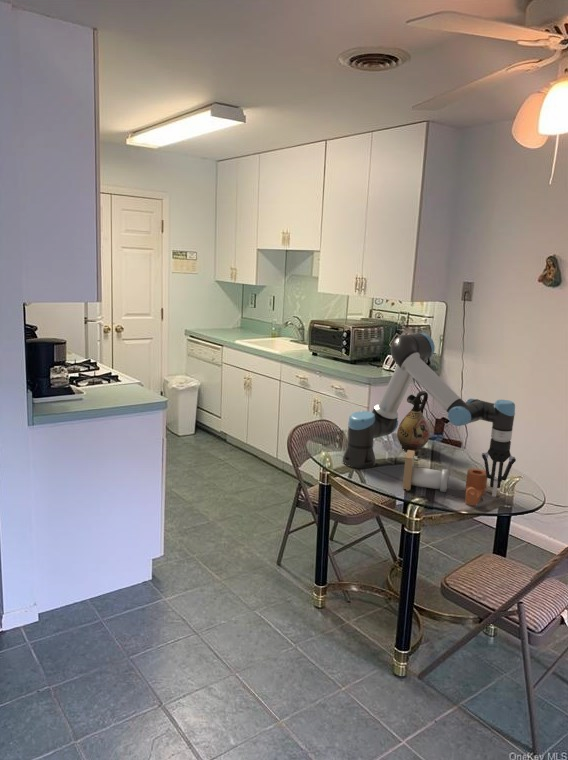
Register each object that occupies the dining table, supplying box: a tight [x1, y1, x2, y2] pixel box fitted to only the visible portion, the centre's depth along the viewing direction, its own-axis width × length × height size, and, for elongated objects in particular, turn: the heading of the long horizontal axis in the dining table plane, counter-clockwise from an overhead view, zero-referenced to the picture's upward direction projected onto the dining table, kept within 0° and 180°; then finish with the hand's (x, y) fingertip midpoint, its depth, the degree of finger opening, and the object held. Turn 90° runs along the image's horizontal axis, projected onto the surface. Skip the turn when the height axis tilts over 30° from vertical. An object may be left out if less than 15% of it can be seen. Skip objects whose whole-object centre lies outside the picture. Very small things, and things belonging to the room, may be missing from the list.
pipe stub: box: [402, 450, 449, 493], centre depth 238 cm, size 17×10×14 cm, turn 73°
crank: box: [464, 468, 488, 506], centre depth 232 cm, size 20×8×8 cm
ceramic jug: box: [396, 390, 430, 453], centre depth 285 cm, size 17×15×30 cm
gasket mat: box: [446, 486, 484, 502], centre depth 235 cm, size 14×8×1 cm, turn 73°
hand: (493, 495), depth 232 cm, fingers closed
